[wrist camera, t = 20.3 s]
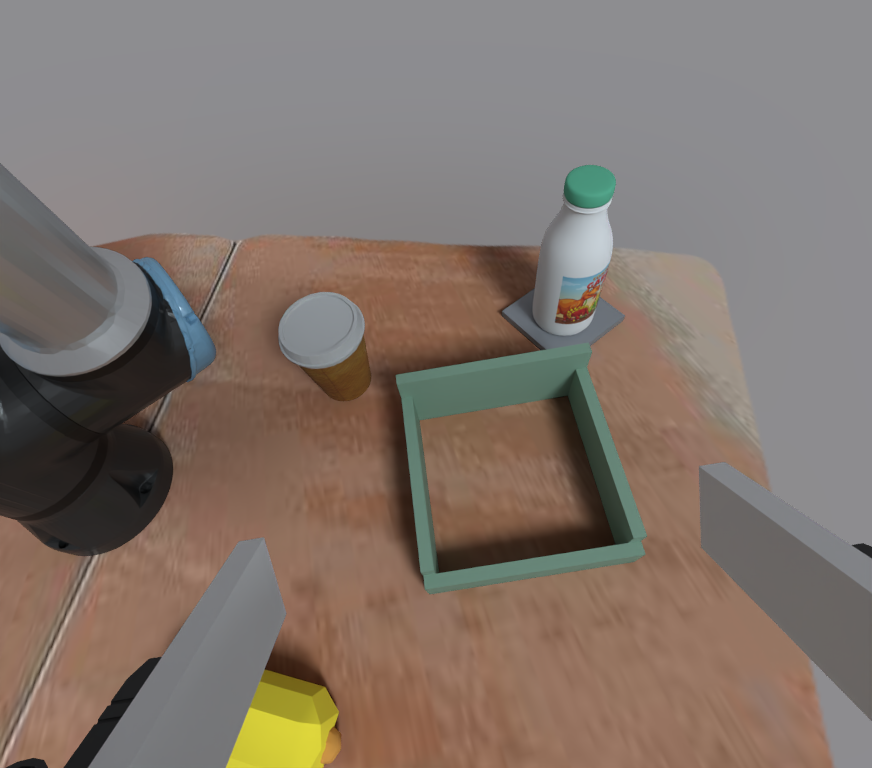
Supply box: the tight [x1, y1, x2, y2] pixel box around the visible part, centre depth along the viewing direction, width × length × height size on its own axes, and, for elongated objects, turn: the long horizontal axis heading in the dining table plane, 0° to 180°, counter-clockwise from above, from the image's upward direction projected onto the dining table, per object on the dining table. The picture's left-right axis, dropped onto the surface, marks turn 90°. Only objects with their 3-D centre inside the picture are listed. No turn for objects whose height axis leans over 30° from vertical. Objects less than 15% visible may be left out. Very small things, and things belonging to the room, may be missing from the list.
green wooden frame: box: [396, 343, 647, 594], centre depth 47 cm, size 20×20×9 cm
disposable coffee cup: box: [279, 292, 371, 401], centre depth 55 cm, size 10×10×12 cm
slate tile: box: [502, 288, 625, 350], centre depth 61 cm, size 11×11×1 cm
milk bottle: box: [532, 165, 616, 336], centre depth 52 cm, size 8×8×20 cm
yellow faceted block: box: [226, 669, 341, 768], centre depth 40 cm, size 18×7×8 cm
